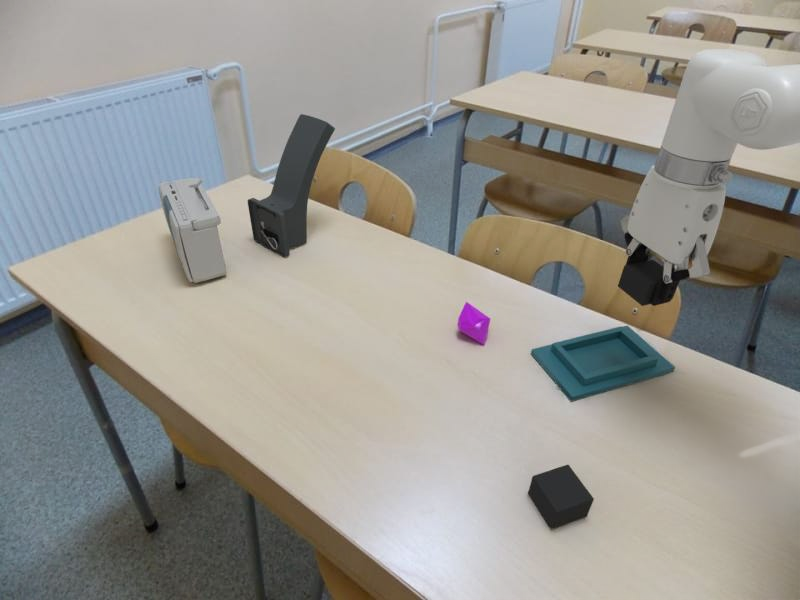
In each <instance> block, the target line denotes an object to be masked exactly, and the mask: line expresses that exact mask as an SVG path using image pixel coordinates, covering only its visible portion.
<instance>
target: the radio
mask: <svg viewBox="0 0 800 600" xmlns="http://www.w3.org/2000/svg"><path fill="white" fill-rule="evenodd" d="M203 181H205V178H204V177H201V178H200V179H199V177H189V178H183V179H182V178H181V179H177V180H171V181H165V182H160V183H159V184H158V194H159V198H160V199H159V200H160V202H161V203H160V204H161V207H162V211H163V214H164V217H165V220H166V224H167V228H168V229H169V233H170V235H171V238H172V240H173V245H174V246H175V250H176V252H177V254H178V257H179V260H180V263H181V265H182V268H183V270H184V273H185V276H186V278H187V280H188V281H189V282H190V283H195V284H196V283H197V284H198V283H201V282H205V281H209V280H213V279H216V278H219V277H224V276H226V275H227V267H226V262H225V258H224V253H223V249H222V243H221V239H220V233H219V229H218V226H219V225H220V224H222V222H221V221H222V219H221V216H220V214H219V213H218V211H217V208H216V207H215V205H214V204H213V202H212V199H211V197H210V196H209V195H208V193H207V191H206V189H205V188H204V186H203Z"/></svg>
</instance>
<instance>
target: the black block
mask: <svg viewBox="0 0 800 600" xmlns="http://www.w3.org/2000/svg"><path fill="white" fill-rule="evenodd" d="M663 271H664V265H661V264H660V263H659V262H658V261H656V260H654V259H648V261H644V262H639V263H634V264H629V265H626V264H625V265H623V268H622V272H621V275H620V279H619V280H618V284H617V287H618V288H619V289H620V290H621V291H623V292H624V293H625V294H626V295H628V296H629V297H630V298H632V299H633V300H634V301H635V302H636V303H638V304H639V305H640V306H642V307H645V306H648V305H651V304H650V300H651V297H652V294H653V292H654V289H655V286H656V284H657V280H658V279H661V278H663Z"/></svg>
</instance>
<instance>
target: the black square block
mask: <svg viewBox="0 0 800 600" xmlns="http://www.w3.org/2000/svg"><path fill="white" fill-rule="evenodd" d="M527 494H528V496H529V497H530V499H531V500H532V502H533V504H534V505H535V507H536V508H537V510H538V512H539V513H540V515H541V517H542V518H543V519H544V521H545V522H546V524H547V526H548V528H549V529H550V530H554V529H557V528H560V527H562V526H564V525H567V524H569V523H570V524H571V523H573V522H575V521H579V520H581V519H583V518H586V517H588V515H589V513H590V510H591V507H592V505H593V503H594V501H595V499H594V497H593V495H592V494H591V493H590V492H589V490H588V488H587V487H586V486H585V485H584V484H583V482H582V481H581V479H580V478H579V476H577V474H576V473H575V471H574V470H573V469H572V467H571V466H570V465H569V464H565V465H562V466H559V467H556V468H553V469H550V470H547V471H543V472H541V473H538V474H534V475H533V476H532V477H531V481H530V485H529V488H528V491H527Z"/></svg>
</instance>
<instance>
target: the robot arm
mask: <svg viewBox="0 0 800 600" xmlns="http://www.w3.org/2000/svg"><path fill="white" fill-rule="evenodd" d="M796 144H800V63H793V64H783V65H771V66H769V65H768V66H767V63H766V61H765V59H764V58H763V57H762V56H760V55H758V54H756V53H753V52H749V51H745V50H744V51H743V50H737V49H726V48H708V49H704V50H703V49H702V50H700V51H698V52H696V53H695V54H693V56H692V57H691V58H690V59H689V60H688V62H687V65H686V67H685V70H684V73H683V77H682V80H681V82H680V85H679V89H678V91H677V95H676V97H675V101H674V105H673V107H672V110H671V114H670V117H669V120H668V123H667V125H666V129H665V132H664V135H663V139H662V142H661V145H660V148H659V151H658V154H657V157H656V159H655V160H656V161H655V163H654V165H652V166H651V167H650V169H649V170H648V172H647V174H646V176H645V177H644V179H643V181H642V183H641V185H640V188H639V190H638V192H637V195H636V198H635V199H634V202H633V205H632V207H631V209H630V210H631V211H630V213H628V214H627V215H626V216H624V217H623V218H621V219H620V221H619V223H620V227H621V228H622V232H623V234H624V241H625V243H626V248H625V254H626V256H627V259H626V263H625V265H629V264H634V263H639V262H644V261H648V260H649V257H650V254H647V253H648V251H649V250H651V251H652V252H654V253H655V254H657V255H658V256H660V257H661V258H662V259H664V262H663V267H664V271H663V278H661V279H658V280H657V284H656V286H655V289H654V292H653V294H652V297H651V300H650V304H649V305H651V306H652V307H656V306H659V305H664V304H667V303H670V302H671V301H672V300H673V299H674V297H675V294H676V291H677V289H678V287H679V284H680V282H681V281H684V280H687V279H694V278H700V277H704V276H709V275H710V273H711V268H710V264H709V259H708V255H709V253H710V251H711V249H712V246H713V244H714V240H715V237H716V235H717V231H718V229H719V226H720V222H721V220H722V219H721V218H722V216H723V211H724V206H725V200H726V194H727V186H726V185H727V184H728V183H730V182H731V180H732V179H733V177H734V174H733V173H732V172H731V171H729V169H728V168H729V166H730V163H731V160H732V159H733V155H734V153H735V151H736V148H737V145H740V146H743V147H745V148H747V149H751V150H759V151H760V150H762V151H764V150H772V149H777V148H782V147H787V146H793V145H796ZM690 260H691V267H689V262H690ZM675 267H676V271H675Z"/></svg>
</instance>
